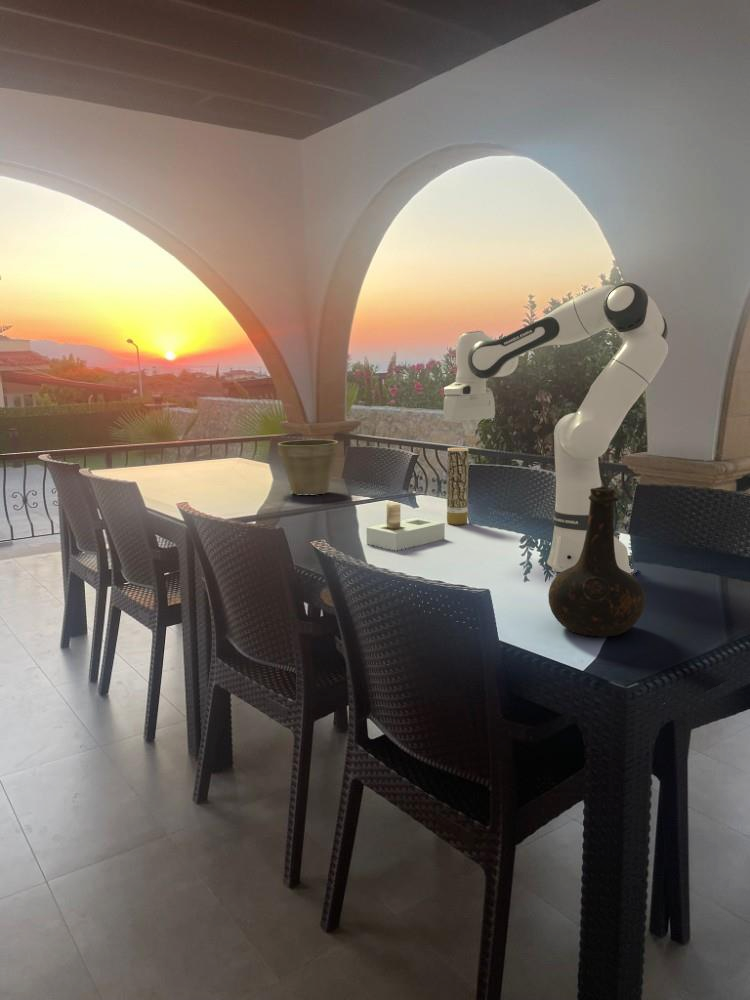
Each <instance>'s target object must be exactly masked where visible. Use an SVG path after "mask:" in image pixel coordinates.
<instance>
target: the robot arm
mask: <svg viewBox="0 0 750 1000" xmlns="http://www.w3.org/2000/svg"><path fill="white" fill-rule="evenodd" d="M606 329H614V330H615V331H616V333H617V335H618V336H619V338H621V339H622V341H621V342H622V343H621V346H620V347H619V348H618V350H617V351H616V353H615V354H614V355H613V357H612V358H611V359H610V360H609V362H608V363H607V364H606V365H605V367H604V368H603V369H602V371H601V372H600V374H598V376H597V377H596V379H595V380H594V381H593V383H592V384H590V385H591V386H590V388H589V391H588V392H587V394H585V395H586V396H585V398H584V399H583V400H582V402H581V405H579V407H578V409H577V411H576V412H572V413H568V414H566V415H564V416H563V417H561V418H560V419H559V420H558V422H557V423H556V425H555V427H554V430H553V439H554V441H553V444H554V445H553V446H554V447H553V450H554V468H555V476H556V477H555V478H556V479H555V481H556V482H555V509H554V510H553V517H552V528H553V533H552V534H553V535H552V540H551V541H552V543H551V546H550V552H549V555H548V558H547V561H546V564H547V566H549V567H550V568H551V569H552V571H553V572H557V573H561V572H563V571H564V570H566V569H568V568H570V567H572V566H574V565H575V564H576V563H577V562H578V560H579V558H580V555H581V552H582V549H583V546H584V541H585V537H586V531H587V525H588V518H589V510H590V500H589V496H590V495H591V491H590V489H591V488H598V487H602V479H601V474H600V467H599V466H600V465H599V457H600V458H601V456H603V455H604V454H605V453H606V452H607V450H608V448H609V446H610V444H611V441H613V439H614V437H615V435H616V434H617V431H618V430H619V428H620V426H621V425H622V423H623V421H624V419H625V417H626V415H627V414H628V412H629V411H630V410H631V408H633V405H635V403H636V402H637V400H638V399H639V398H640V396H642V394H643V393H644V392H645V390H646V389H647V388H648V386H649V385H650V384H651V382H652V381H653V380H654V379H655V378H656V375H657V374H658V372H659V370H660V369H661V367H662V365H663V364H664V362H665V360H666V358H667V356H668V353H669V345H668V343H667V340H666V338H667V336H668V324H667V322H666V319H665V318H664V316H663V315H662V313H661V312H660V310H659V308H658V305H657V303H656V302H655V301H654V300H653V298H651V296H649V295H648V294H647V292H646V290H645V289H644V288H642V287H641V286H639V285H638V284H636V283H633V282H623V283H620V284H618V285H616V286H615V285H612V284H606V285H602V286H600V287H596V288H592V289H590V290H588V291H586V292H584V293H582V294H579V295H577V296H576V297H573V298H572V299H570V300H568V301H566V302H565V303H563V304H561V305H560V306H558V307H556V308H555V309H554V310H552V311H550V312H549V313H547V314H546V315H544V316H543V317H541V318H539V319H537V320H536V321H534V322H533V323H530V324H528V325H527V326H524V327H522V328H520V329H518V330H516V331H514V332H512V333H509V334H508V335H506V336H503V337H501V338H498V339H495V338H492V337H491V336H489V335H488V334H486V333H485V332H484V331H482V330H475V331H468V332H465V333H463V334H461V335H460V336H459V337H458V339H457V343H456V344H457V345H456V350H455V351H456V353H455V365H456V375H455V382H452V383H451V384H449V385H447V386H445V387H444V388H443V393H444V395H445V397H444V398H443V418H444V420H445V421H446V422H460V421H461V425H462V428H463V430H464V436H468V437H469V436H475V435H476V429H477V427H478V424H479V420H487V419H488V420H489V419H494V418H495V416H496V406H495V403H496V402H495V397H494V395H493V394H494V393H493V390H491V388H490V387H487V379H488V378H499V377H500V378H502V377H507V376H509V375H511V374H513V373H515V371H517V368H518V366H519V364H520V356H522V355H524V354H526V353H528V352H530V351H533V350H535V349H537V348H541V347H542V348H543V347H546V346H547V347H548V346H559V345H560V346H561V345H563V346H564V345H571V344H575V343H578V342H580V341H583V340H586V339H588V338H589V337H591V336H595V335H596V334H598V333H600V332H602V331H604V330H606ZM614 549H615V558H616V562H617V565H618V567H619V568H620V569H622V570H624V571H626V572H628V573H631V572H633V571H634V569H631V568H630V566H629V564H630V561H629V560H630V559H629V553H628V548H627V546H626V545H625V544H624V543H623V542H622V541H621V540H619V538H618V537H616V536H615V535H614Z"/></svg>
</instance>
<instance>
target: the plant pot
mask: <svg viewBox="0 0 750 1000" xmlns="http://www.w3.org/2000/svg"><path fill="white" fill-rule="evenodd" d="M277 449H278V450H277V451H278V456H280V457H281V461H282V465H283V468H284V470H285V471H284V472H285V474H286V477H287V480H288V484H289V486H290V490H291V492H292V494H293V493H294V494H308V495H310V494H323V493H326V494H327V493H328V491H329V488H330V482H331V478H332V474H333V469H334V466H335V460H336V455H337V454H338V453H339V441H338V440H336V439H335V440H334V439H299V440H298V439H297V440H289V441H288V440H286V441H281V442H278V443H277ZM294 494H293V495H294ZM323 495H324V494H323Z"/></svg>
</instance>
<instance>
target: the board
mask: <svg viewBox="0 0 750 1000" xmlns="http://www.w3.org/2000/svg"><path fill="white" fill-rule="evenodd" d="M445 526H446V525H445V522H442V521H438V520H431V519H425V518H420V517H410V518H407V519H402V520H401V519H400V529H399V530H395V531H392V530H387V522H386V523H381V524H378V525H376V524H375V525H373V526H367V527H366V545H368V544H369V546H372V545H374V547H377V546H378V548H381V547H382V548H381V549H385V548H386V549H385V550H389V549H390V550H391V551H394V550H395V551H394V552H398V551H402V550H406V549H410V548H414V547H417V546H421V545H425V544H430V543H433V542H438V541H443V540H445V538H446V537H445V536H446V535H445V534H446V533H445ZM413 546H414V547H413ZM409 547H410V548H409ZM405 548H406V549H405ZM401 549H402V550H401ZM397 550H398V551H397Z"/></svg>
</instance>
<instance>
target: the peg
mask: <svg viewBox="0 0 750 1000" xmlns="http://www.w3.org/2000/svg"><path fill="white" fill-rule="evenodd" d="M400 520H401V503H397V502H390V503H386V523H387V530H392V531H395V530H399V529H400Z"/></svg>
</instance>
